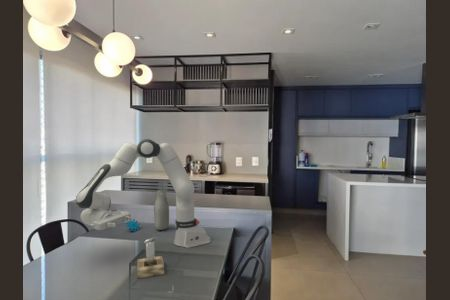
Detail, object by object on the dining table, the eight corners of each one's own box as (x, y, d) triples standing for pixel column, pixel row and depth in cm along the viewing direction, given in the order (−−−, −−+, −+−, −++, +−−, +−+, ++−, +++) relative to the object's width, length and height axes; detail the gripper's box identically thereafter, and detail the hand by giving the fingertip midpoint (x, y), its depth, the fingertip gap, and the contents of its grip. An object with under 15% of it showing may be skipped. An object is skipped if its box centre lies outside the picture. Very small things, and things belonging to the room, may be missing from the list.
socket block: (162, 262, 133) (162, 255, 133) (164, 273, 122) (164, 266, 121) (137, 266, 129) (137, 259, 129) (137, 278, 118) (137, 270, 118)
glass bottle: (164, 226, 190) (163, 188, 189) (171, 229, 182) (171, 190, 181) (151, 229, 183) (151, 190, 182) (159, 233, 175) (158, 192, 174)
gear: (129, 231, 174) (124, 218, 179) (125, 236, 177) (120, 223, 181) (143, 229, 183) (138, 217, 188) (139, 234, 185) (134, 222, 190)
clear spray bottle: (152, 265, 130) (152, 235, 129) (158, 267, 128) (158, 236, 127) (141, 272, 123) (141, 240, 123) (148, 274, 121) (147, 241, 121)
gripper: (86, 218, 130) (106, 222, 124) (119, 208, 148) (137, 211, 142) (87, 231, 130) (106, 235, 124) (120, 219, 148) (138, 222, 142)
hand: (123, 222), depth 133 cm, fingers open, 8 cm apart
